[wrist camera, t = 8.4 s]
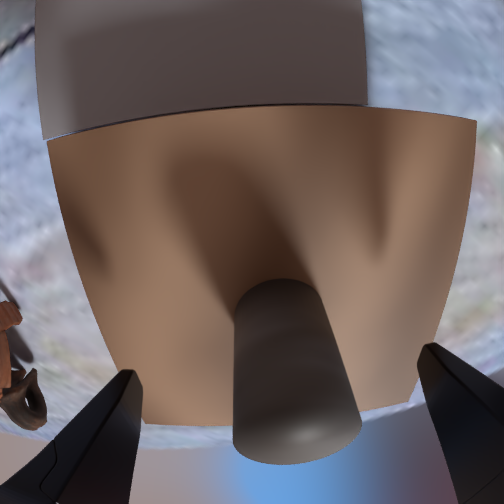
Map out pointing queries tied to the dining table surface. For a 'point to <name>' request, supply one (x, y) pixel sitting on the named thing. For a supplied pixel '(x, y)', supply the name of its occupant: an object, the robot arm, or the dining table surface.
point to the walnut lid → (269, 261)
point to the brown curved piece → (18, 380)
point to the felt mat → (192, 57)
